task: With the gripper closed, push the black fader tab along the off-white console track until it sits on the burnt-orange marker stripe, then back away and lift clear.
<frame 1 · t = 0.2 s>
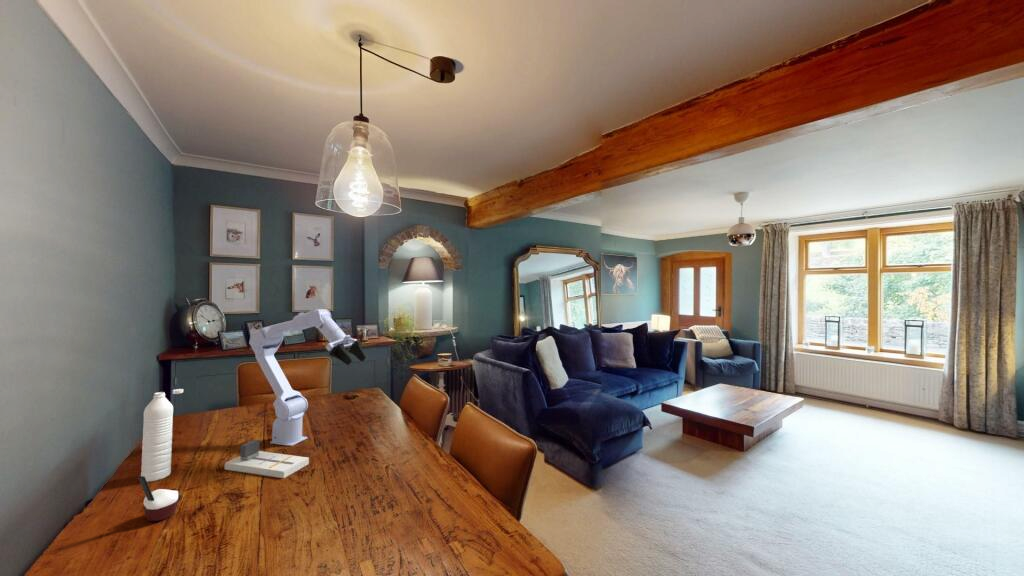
hand: (357, 361, 134), 32 cm above the table, tool tilted 50°, fingers open, 7 cm apart
fader console: (267, 466, 120), on the table
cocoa: (159, 518, 92), on the table
fader tab: (249, 449, 121), point 4 cm above the table, slide at -7.0 cm
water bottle: (161, 476, 113), on the table
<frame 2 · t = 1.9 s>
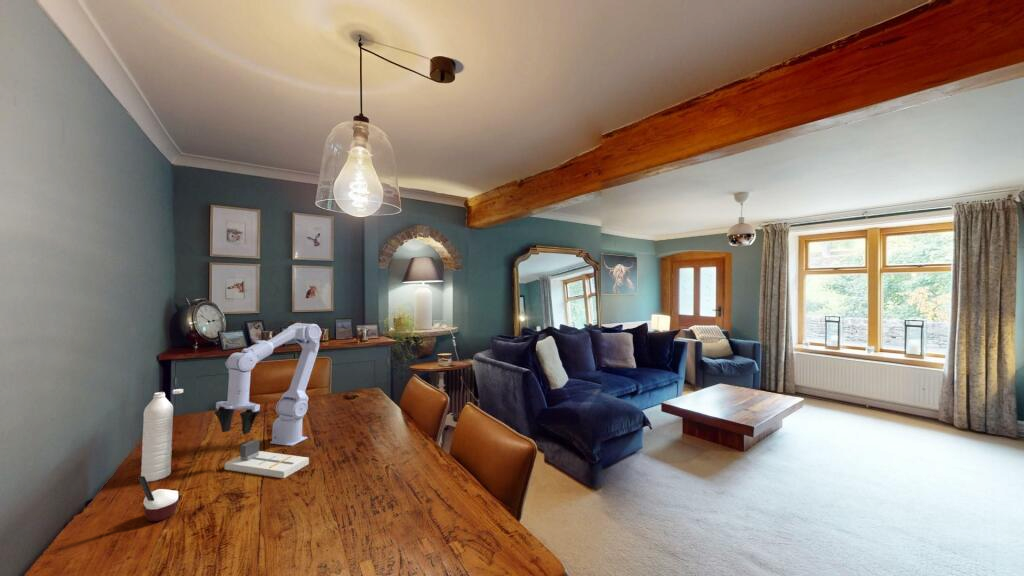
hand: (236, 432, 122), 10 cm above the table, tool pointing down, fingers open, 7 cm apart
nothing on the table moved.
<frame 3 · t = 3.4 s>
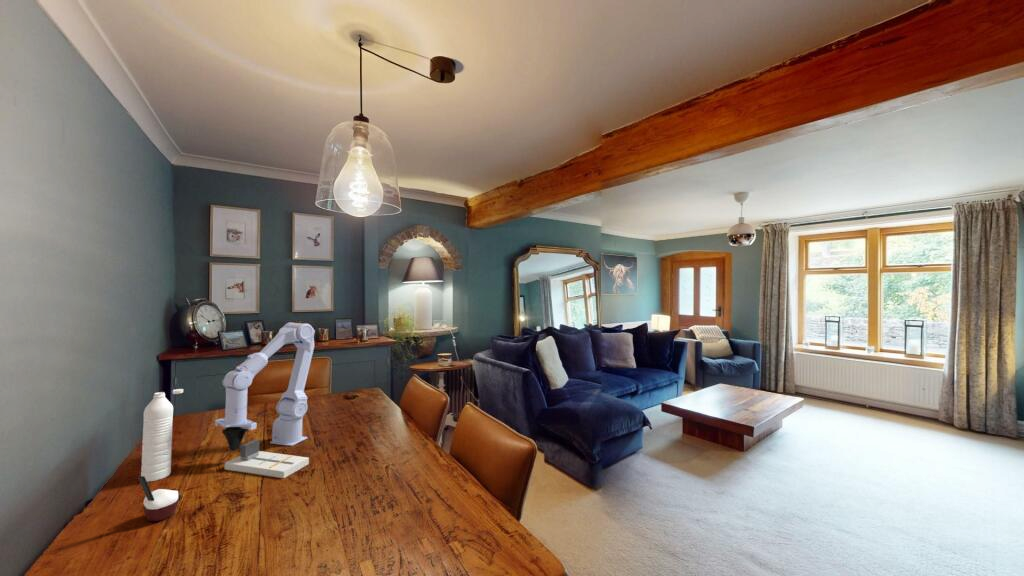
hand: (234, 449, 123), 4 cm above the table, tool pointing down, fingers closed
nothing on the table moved.
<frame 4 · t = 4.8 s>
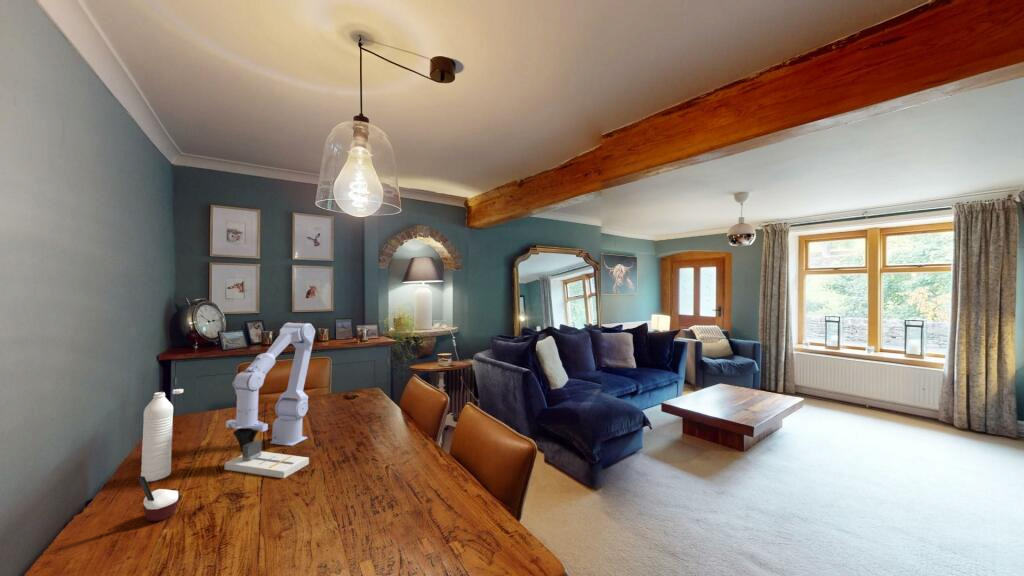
hand: (245, 451, 122), 4 cm above the table, tool pointing down, fingers closed
fader tab: (252, 450, 121), point 5 cm above the table, slide at -6.1 cm, touching gripper
everything else where it was.
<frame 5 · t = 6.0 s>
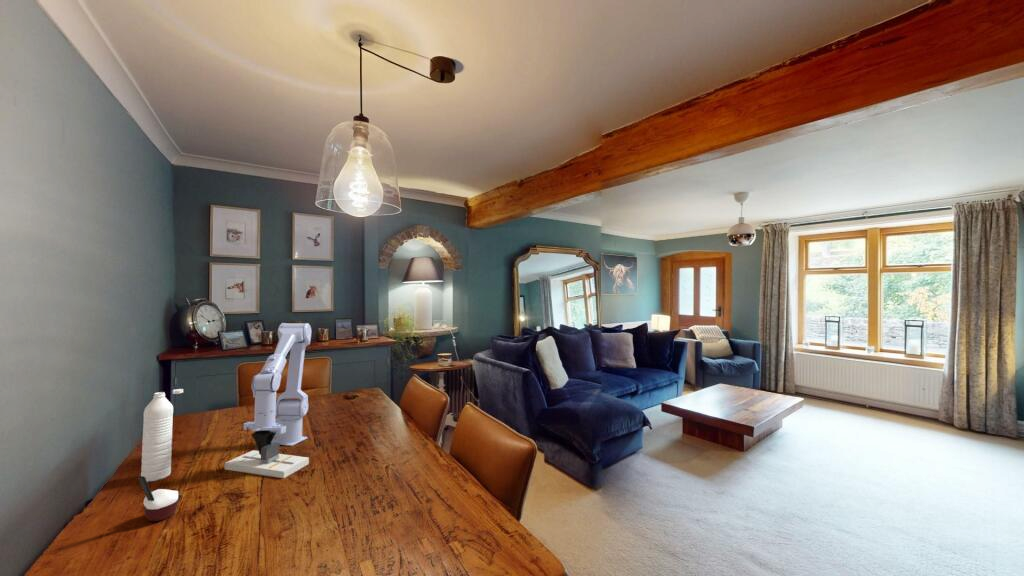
hand: (263, 453, 120), 4 cm above the table, tool pointing down, fingers closed
fader tab: (270, 452, 120), point 4 cm above the table, slide at 0.9 cm, touching gripper
everything else where it was.
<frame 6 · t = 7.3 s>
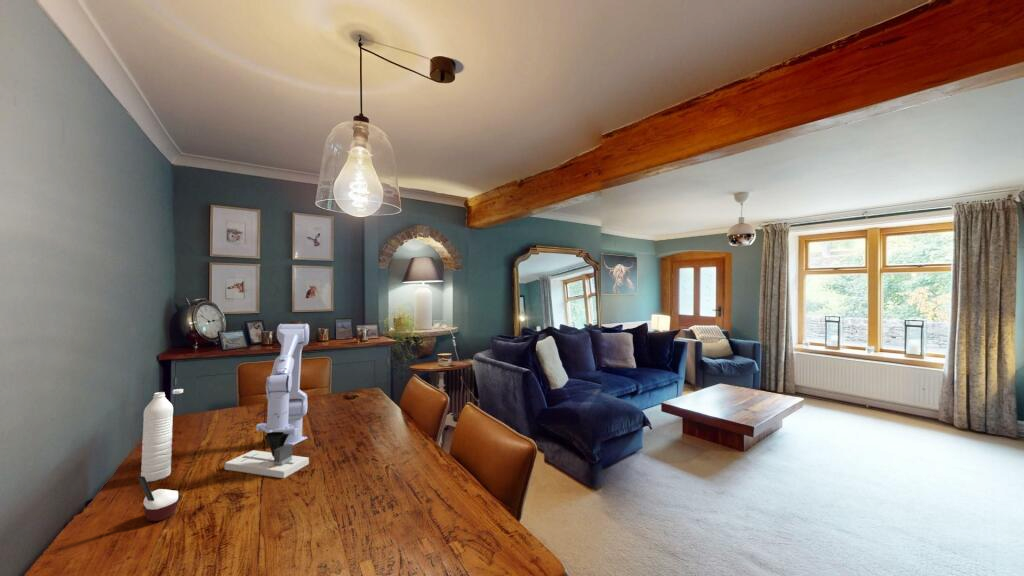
hand: (276, 455, 119), 4 cm above the table, tool pointing down, fingers closed
fader tab: (283, 454, 119), point 4 cm above the table, slide at 5.8 cm, touching gripper
everything else where it was.
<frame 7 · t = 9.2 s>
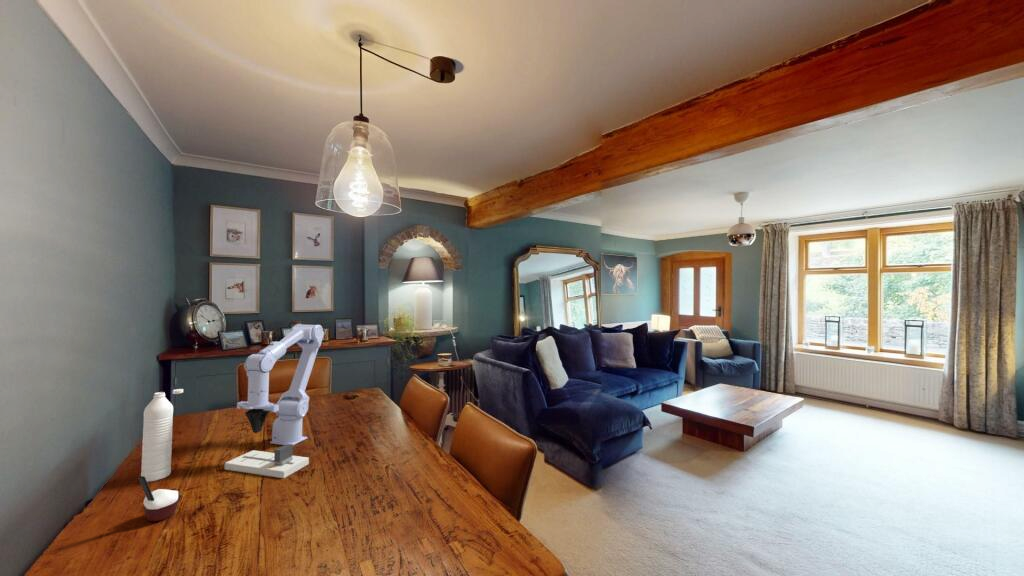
hand: (257, 431, 124), 9 cm above the table, tool pointing down, fingers closed
fader tab: (283, 454, 119), point 5 cm above the table, slide at 6.0 cm
everything else where it was.
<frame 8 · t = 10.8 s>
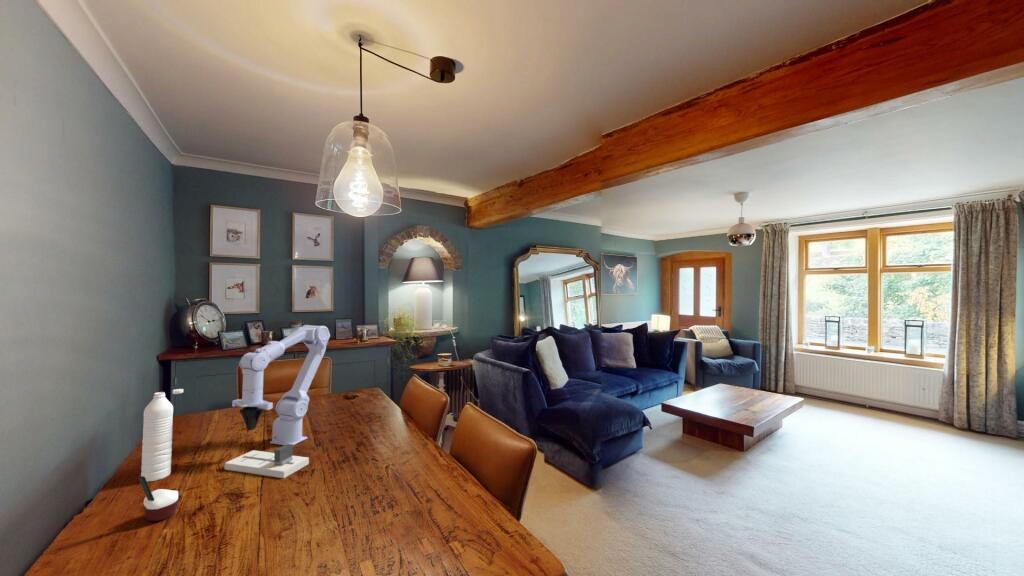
hand: (251, 429, 126), 9 cm above the table, tool pointing down, fingers closed
nothing on the table moved.
at the end: fader tab slide at 6.0 cm; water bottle moved 0.2 cm from its start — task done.
